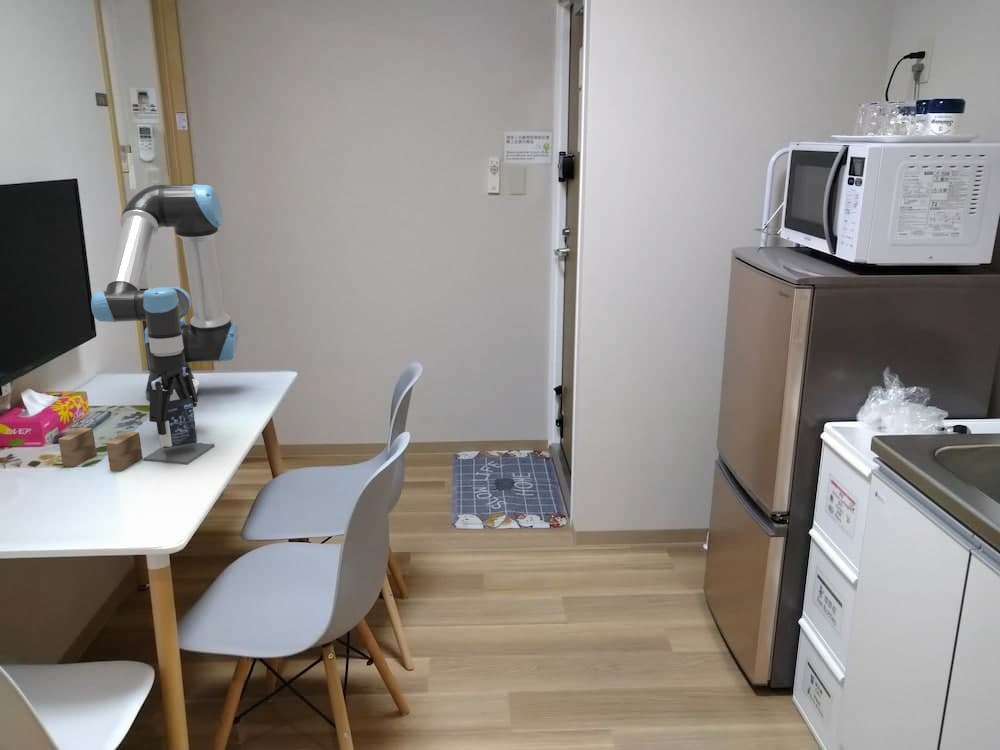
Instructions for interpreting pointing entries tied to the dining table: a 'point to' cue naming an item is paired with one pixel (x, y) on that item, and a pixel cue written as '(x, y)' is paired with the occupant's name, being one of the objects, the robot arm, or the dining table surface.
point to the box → (181, 422)
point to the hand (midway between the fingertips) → (178, 438)
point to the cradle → (83, 447)
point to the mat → (179, 453)
